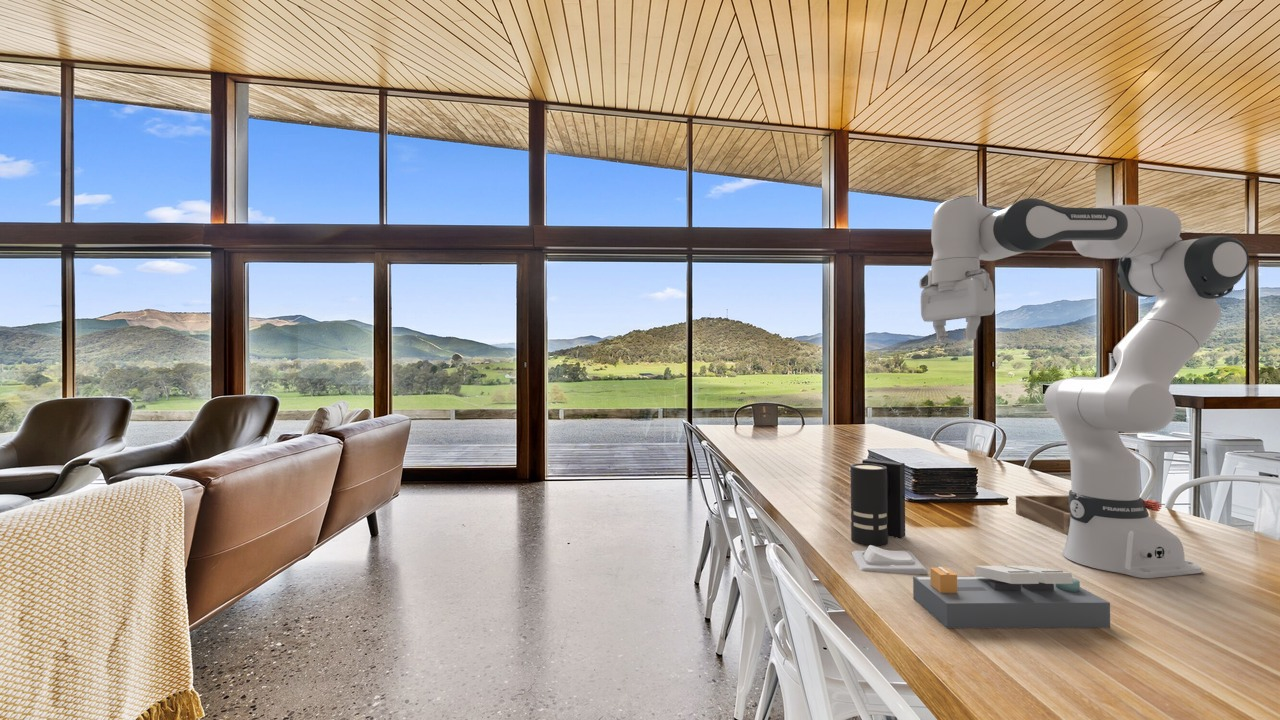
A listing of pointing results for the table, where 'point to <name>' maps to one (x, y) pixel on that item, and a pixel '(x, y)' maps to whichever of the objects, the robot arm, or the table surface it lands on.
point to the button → (1070, 586)
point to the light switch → (888, 561)
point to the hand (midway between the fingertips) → (955, 340)
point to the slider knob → (943, 580)
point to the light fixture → (877, 502)
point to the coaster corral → (1046, 510)
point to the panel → (1011, 605)
